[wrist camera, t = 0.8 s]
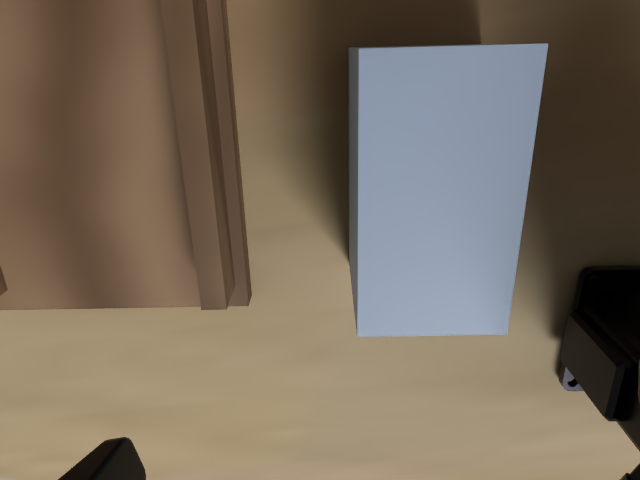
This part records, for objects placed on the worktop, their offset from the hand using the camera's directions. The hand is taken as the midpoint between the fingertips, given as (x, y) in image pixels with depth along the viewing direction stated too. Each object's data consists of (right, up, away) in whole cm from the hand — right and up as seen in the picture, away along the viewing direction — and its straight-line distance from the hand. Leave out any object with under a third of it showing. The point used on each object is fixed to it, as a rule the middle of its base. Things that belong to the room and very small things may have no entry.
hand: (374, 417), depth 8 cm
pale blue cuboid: (+3, +6, +12) cm, 13 cm away
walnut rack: (-10, +7, +11) cm, 17 cm away
